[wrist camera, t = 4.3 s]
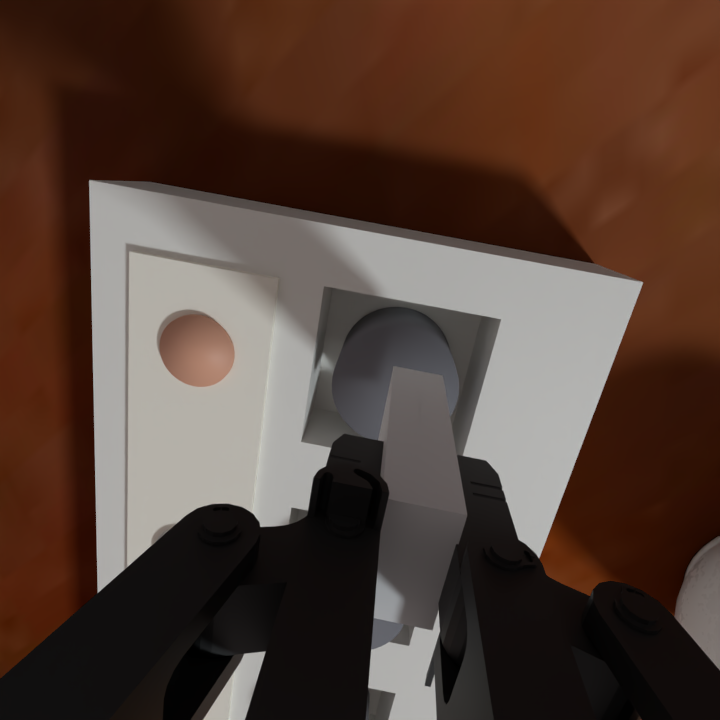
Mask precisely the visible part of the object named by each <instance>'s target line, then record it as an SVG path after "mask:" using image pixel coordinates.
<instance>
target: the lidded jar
mask: <svg viewBox="0 0 720 720" xmlns="http://www.w3.org/2000/svg"><path fill="white" fill-rule="evenodd" d="M674 617H675V618H676V620H677V621H678V622H679V623H680V624H681V625H682V627H683V628H684V629H685V630H686V631H687V633H688V634H689V635H690V636H691V637H692V638H693V640H694V641H695V642H696V643H697V644H698V645H699V647H700V648H701V649H702V650H703V651H704V652H705V654H706V655H707V656H708V657H709V658H710V659H711V661H712V662H713V663H714V664H715V665H716V666H717V668H718V669H719V670H720V536H718V537H716V538H714V539H713V540H711V541H710V542H709V543H707V544H706V545H705V546H703V547H702V548H701V549H700V550H699V551H698V552H697V553H696V555H695V556H694V557H693V558H692V560H691V561H690V563H689V565H688V567H687V569H686V572H685V576H684V582H683V584H682V587H681V589H680V592H679V595H678V597H677V601H676V608H675V616H674Z"/></svg>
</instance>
